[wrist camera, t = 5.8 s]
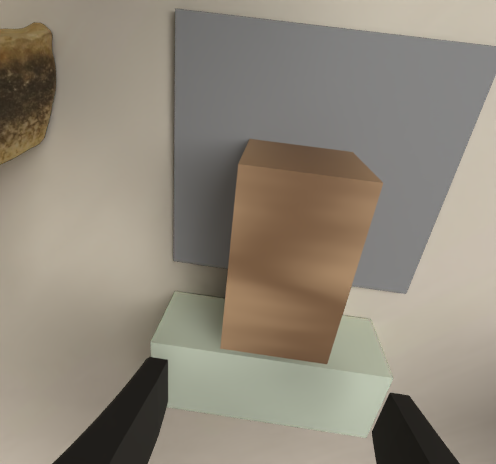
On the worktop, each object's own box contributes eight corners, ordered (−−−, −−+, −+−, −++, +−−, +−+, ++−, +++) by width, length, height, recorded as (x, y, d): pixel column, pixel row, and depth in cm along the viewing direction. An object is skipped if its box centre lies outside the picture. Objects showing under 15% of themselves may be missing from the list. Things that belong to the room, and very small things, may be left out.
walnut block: (315, 297, 15) (352, 151, 12) (327, 364, 12) (383, 183, 9) (233, 285, 16) (249, 138, 12) (220, 348, 12) (238, 163, 9)
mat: (501, 48, 11) (506, 47, 10) (403, 289, 15) (406, 293, 15) (177, 10, 11) (175, 8, 11) (175, 257, 15) (173, 261, 15)
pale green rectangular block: (370, 319, 16) (393, 378, 13) (350, 374, 18) (366, 438, 15) (174, 291, 16) (150, 342, 13) (174, 348, 18) (152, 405, 15)
